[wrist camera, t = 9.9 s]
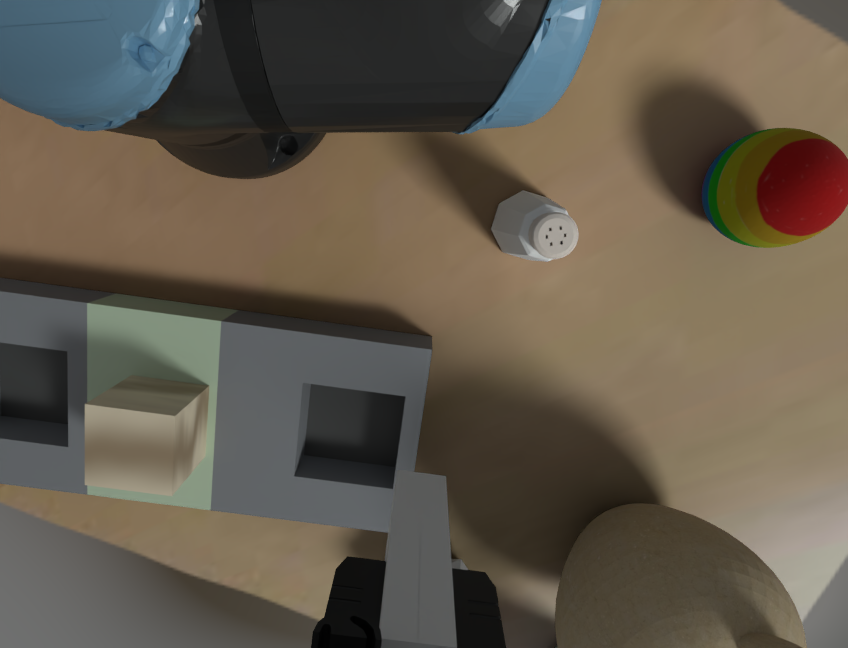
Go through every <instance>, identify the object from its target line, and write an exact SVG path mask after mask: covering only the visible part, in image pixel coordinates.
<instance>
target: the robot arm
mask: <svg viewBox="0 0 848 648" xmlns="http://www.w3.org/2000/svg"><path fill="white" fill-rule="evenodd" d="M601 1H602V0H0V98H2V99H3V100H5V101H7V102H8V103H10V104H12V105H14V106H16V107H19V108H21V109H23V110H25V111H28V112H31V113H34V114H37V115H40V116H44V117H45V118H47V119H51V120H53V121H54V122H55V123H57V124H59V125H61V126H64V127H72V128H74V129H76V130H83V131H99V130H105V131H111V132H116V133H122V134H127V135H133V136H138V137H143V138H149V139H154V140H157V141H158V142H159V143H160V144H161V145H162V146H163V147H164V148H165V149H166V150H167V151H168V152H170V153H171V154H172V155H173V156H175V157H176V158H178V159H179V160H181V161H182V162H184V163H186V164H187V165H189V166H191V167H193V168H195V169H198V170H200V171H203V172H205V173H208V174H212V175H216V176H220V177H226V178H237V179H256V178H263V177H268V176H272V175H275V174H278V173H280V172H283V171H285V170H287V169H289V168H291V167H293V166H294V165H296V164H298V163H299V162H300V161H302V160H303V159H304V158H305V157H307V156H308V155H309V154H310V153H311V152H312V151H313V150H314V149H315V148H316V147H317V145H318V144H319V143H320V141H321V140H322V139H323V137H324V136H325V134H326V133H333V132H453V133H456V134H464V133H472V132H475V131H477V130H479V129H487V128H500V127H515V126H522V125H526V124H528V123H531V122H534V121H535V120H537V119H539V118H541V117H542V116H544V115H545V114H546V113H547V112H548V111H549V110H550V109H551V108H552V107H553V106H554V105H555V104H556V103H557V102H558V101H559V99H560V98H561V97H562V95H563V94H564V92H565V91H566V89H567V88H568V86H569V84H570V82H571V81H572V79H573V77H574V75H575V73H576V71H577V69H578V67H579V65H580V62H581V60H582V57H583V55H584V53H585V50H586V47H587V45H588V42H589V39H590V37H591V34H592V31H593V28H594V25H595V22H596V18H597V15H598V12H599V8H600V5H601ZM500 618H501V616H500V610H499V607H498V598H497V593H496V587H495V586H494V584H493V583H492V581H491V580H490V579H489V577H488V576H487V574H486V573H485V572H479V571H471V570H463V569H455V568H452V562H451V546H450V531H449V515H448V500H447V484H446V476H442V475H435V474H427V473H419V472H412V471H404V470H397V475H396V482H395V489H394V496H393V503H392V510H391V517H390V524H389V531H388V539H387V546H386V554H385V561H380V560H372V559H364V558H356V557H348V556H347V558H346V559H345V560H344V561H343V562H342V563H341V564H340V565H339V566H338V567H337V568H336V571H335V575H334V580H333V584H332V588H331V592H330V596H329V600H328V604H327V608H326V613H325V617H324V618H323V619H321V620H320V621H319V622H318V623H317V625H316V627H315V629H314V631H313V636H312V645H311V648H506V645H505V639H504V633H503V628H502V622H501V620H500Z"/></svg>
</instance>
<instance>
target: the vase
mask: <svg viewBox="0 0 848 648" xmlns="http://www.w3.org/2000/svg"><path fill="white" fill-rule="evenodd" d="M555 630H556V639H557V647H558V648H807V646H806V639H805V633H804V629H803V626H802V622H801V619H800V617H799V614H798V612H797V609H796V607H795V605H794V603H793V601H792V599H791V597H790V595H789V594H788V592H787V591H786V589H785V587H784V586H783V584H782V583H781V581H780V580H779V579H778V578H777V576H776V575H775V574H774V572H773V571H772V570H771V569H770V568H769V567H768V566H767V565H766V564H765V563H764V562H763V561H762V560H761V559H760V558H759V557H758V556H757V555H756V554H755V553H754V552H753V551H751V550H750V549H749V548H748V547H747V546H745V545H744V544H743V543H741V542H740V541H739V540H737V539H736V538H734V537H733V536H731V535H730V534H729V533H727V532H725V531H723V530H722V529H720V528H718V527H716V526H715V525H713V524H711V523H709V522H707V521H705V520H703V519H700V518H698V517H696V516H694V515H691V514H688V513H685V512H682V511H679V510H676V509H673V508H670V507H666V506H661V505H656V504H645V503H634V504H626V505H621V506H618V507H615V508H612V509H610V510H608V511H605V512H603V513H602V514H600V515H599V516H597V517H596V518H595V519H594V520H592V521H591V522H590V523H589V524H588V525H587V526H586V528H585V529H584V530H583V531H582V532H581V534H580V535H579V537H578V538H577V540H576V541H575V543H574V545H573V547H572V549H571V551H570V554H569V556H568V558H567V560H566V563H565V565H564V568H563V572H562V575H561V579H560V583H559V587H558V592H557V598H556V611H555Z"/></svg>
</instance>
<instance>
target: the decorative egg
mask: <svg viewBox="0 0 848 648" xmlns="http://www.w3.org/2000/svg"><path fill="white" fill-rule="evenodd" d="M702 204H703V208H704V211H705V214H706V216H707V218H708V220H709V221H710V222H711V224H712V225H713V226H714V228H715V229H717V230H718V231H719V232H720V233H721V234H723V235H724V236H725V237H727V238H729V239H731V240H733V241H735V242H737V243H740V244H743V245H748V246H753V247H763V248H771V247H781V246H787V245H791V244H795V243H798V242H801V241H804V240H806V239H809V238H811V237H813V236H815V235H817V234H818V233H820V232H822V231H823V230H825V229H826V228H827V227H829V226H830V225H831V224H832V223H833V222H834V221H835V220H836V219H837V218H838V217H839V216H840V215H841V214H842V212H843V211H844V210H845V208H846V206H847V205H848V159H847V157H846V156H845V154H844V153H843V152H842V151H841V150H840V149H839V148H838V147H837V146H836V145H835V144H833V143H832V142H831V141H829V140H828V139H826V138H824V137H822V136H820V135H818V134H815V133H813V132H810V131H805V130H801V129H792V128H776V129H767V130H763V131H759V132H755V133H752V134H750V135H747V136H745V137H743V138H741V139H739V140H737V141H736V142H734V143H732V144H731V145H730V146H728V147H727V148H726V149H725V150H723V151H722V152H721V153H720V154H719V155H718V156H717V158H716V159H715V160H714V161H713V163H712V164H711V166H710V167H709V169H708V171H707V173H706V175H705V178H704V181H703V186H702Z"/></svg>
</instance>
